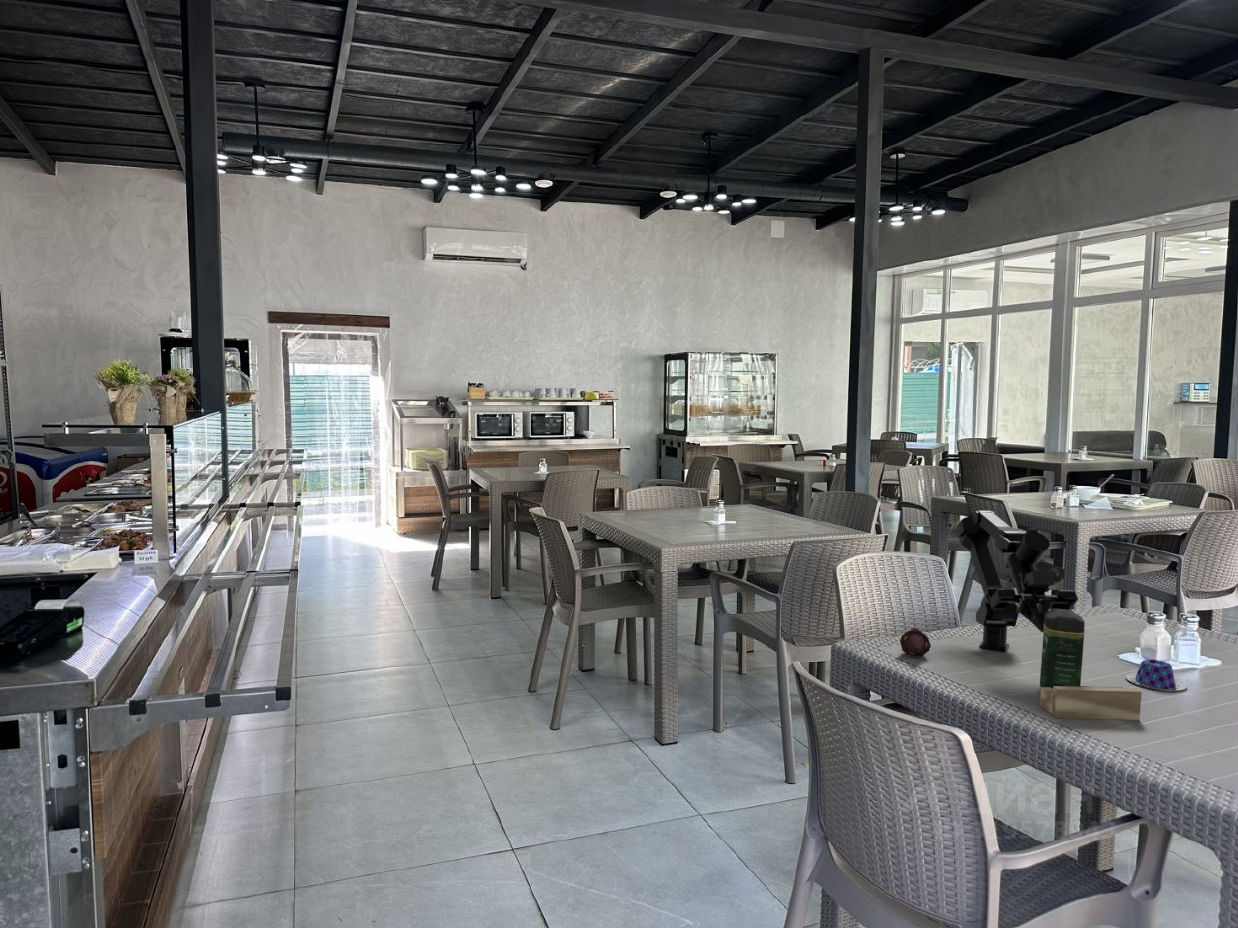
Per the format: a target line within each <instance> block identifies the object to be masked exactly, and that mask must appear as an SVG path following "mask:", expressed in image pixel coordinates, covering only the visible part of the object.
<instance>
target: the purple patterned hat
mask: <svg viewBox="0 0 1238 928" xmlns="http://www.w3.org/2000/svg"><path fill="white" fill-rule="evenodd" d="M1134 676H1136V678H1135V679H1136V680H1137V681H1138V684H1137V683H1134V682H1132V681H1131V680H1130V679H1129V678H1133V677H1134ZM1125 679H1126V680H1128V681H1129V682H1131V683H1133V684H1135V685H1138V686H1142V685H1139V683H1140V684H1144V685H1143V686H1142V687H1144V688H1148V689H1152V690H1153V689H1154V690H1160V691H1165V689H1167V691H1170V692H1171V691H1172V692H1175V691H1176V692H1177V691H1183V690H1186V688H1187V685H1186V684H1185V683H1184V682H1182V681H1180V680H1178V679H1176V678H1175V676H1174V671H1173V667H1172V665H1171V664H1170V663H1168V662H1166V661H1164V660H1158V659H1148V658H1147V659H1144V660H1142V661H1141V662H1140V665H1139V667H1138V669H1137V672H1130V673H1127V674H1126V675H1125ZM1135 679H1134V680H1135ZM1137 681H1136V682H1137ZM1175 681H1176V683H1177V684H1178V685H1179V688H1178V689H1176V688H1177V686H1176V684H1175ZM1146 685H1147V687H1146ZM1148 686H1149V687H1148ZM1150 687H1151V688H1150ZM1169 688H1170V689H1169ZM1172 688H1175V689H1176V690H1172Z"/></svg>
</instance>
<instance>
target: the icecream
mask: <svg viewBox="0 0 1238 928" xmlns="http://www.w3.org/2000/svg"><path fill="white" fill-rule="evenodd" d="M899 643H900V646H901V650H902V652H904V653H905V654H907V655H908V656H909V655H910V656H909V657H911V656H918V657H917V658H922V657H924V656H925V655H926V654H927V653H928V652H929V651H930V649H931V647H932V645H931V642H930V639H929V637H928V636H927V635H926V634H925V633H923V632H922V631H921V630H919V629H918V628H917V627H912V628H911V629H910V630H907V631H906V632H905V633H903V634H902V635H901V637H900V640H899Z"/></svg>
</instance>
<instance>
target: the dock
mask: <svg viewBox="0 0 1238 928" xmlns="http://www.w3.org/2000/svg"><path fill="white" fill-rule="evenodd" d="M1039 699H1040V700H1039V706H1040V707H1041V708H1043V709H1044V710H1045V711H1047V712H1048V713H1050V715H1052V716H1053V717H1054V718H1055V719H1075V720H1076V719H1077V720H1078V719H1082V720H1083V719H1084V720H1087V719H1089V720H1121V721H1123V720H1126V721H1127V720H1128V721H1131V720H1132V721H1140V718H1141V707H1142V706H1141V704H1142V691H1141V690H1139V689H1138V688H1136V687H1123V686H1096V685H1095V686H1092V685H1091V686H1090V685H1089V686H1088V685H1087V686H1086V685H1081V686H1064V687H1062V686H1053V689H1052V688H1050V687H1040V698H1039Z"/></svg>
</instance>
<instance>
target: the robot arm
mask: <svg viewBox="0 0 1238 928" xmlns="http://www.w3.org/2000/svg"><path fill="white" fill-rule="evenodd" d="M955 534H956V537H958V539H959V542H960V545H962V546H963V547H964V548H965V549H967V550H968V551H969V553H970V555H971V559H972V561H973V565H974V568H975V571H976V574H977V577H978V579H979V582H980V585H981V589H982V592H983V596H982V599H981V602H980V606H979V607H978V610H976V611H975V620H976V621H975V622H976V623H978V624H979V625H981V626H982V627H983V628H982V630H983V633H982V641H981V642H980V644H978V645H979V646H978V647H979V648H983V649H987V650H995V651H1000V652H1007V650H1008V649H1009V647H1010V644H1009V643H1007V637H1008V636H1007V635H1008V627H1014V628H1015V627H1016V625H1017V622H1018V618H1019V614H1021V615H1022V616H1023V617H1025V618H1026V619H1027V620H1028V621H1029V622H1031V624H1032V625H1034V626H1035V628H1036V629H1038V631H1040V633H1043V631H1044V618H1045V617H1044V615H1045V613H1046V612H1047V611H1049V610H1052V609H1053V608H1056V609H1065V610H1072V608H1073V607H1074V606H1075V605H1076V603H1077V602H1078V601H1079V598H1078V597H1079V596H1078V595H1077V593H1076V591H1075V590H1073V589H1057V590H1056V592H1055V593H1054V594H1046V593H1048V592H1049V591H1050V588H1049V587H1051V586H1055V584H1058V583H1061V582H1062V577H1061V573H1060V570H1059V569H1058V568H1050V569H1048V570H1037V568H1036V565H1035V564H1038V563H1039V562H1040V561H1041V559H1043V557H1044V556H1045V554H1046V553H1047V551H1048V550H1049V548H1050V546H1051V545H1050V544H1051V543H1050V540H1049V539H1048V538H1047V537H1046V536H1045V535H1044V534H1042V533H1039V532H1038V530H1037V529H1036V528H1027V529H1026V530H1024V529H1022V528H1016V527H1012V526H1010V525H1009V524H1008V523H1006V521H1003V520H1002V519H1001V518H1000V517H999V516H998V515H996V513H995V511H992V510H981V509H980V510H975V511H973V513H972V514H970V515H968V516H966V517H963V518H962V519H960V521H959V522H958V523H957V524H956V527H955ZM991 537H992V538H993V539H994V541H995V542H994V543H995V544H994V546H995V547H996V549H997V550H998V551H999V553H1001V554H1010V555H1009V556H1008V558H1007V559H1006V562H1005V568H1006V569H1009V571H1010V574H1011V577H1012V581H1013V582H1012V583H1011V586H1012V588H1004V587H1003V585H1002V583H1001V579H1000V577H999V574H998V571H997V568H996V564H995V562H994V558H993V557H992V554H991V551H990V549H989V548H990V547H989V545H988V543H989V541H990V538H991ZM1013 588H1015V589H1013ZM1015 590H1016V591H1015ZM1016 592H1017V593H1016Z"/></svg>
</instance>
